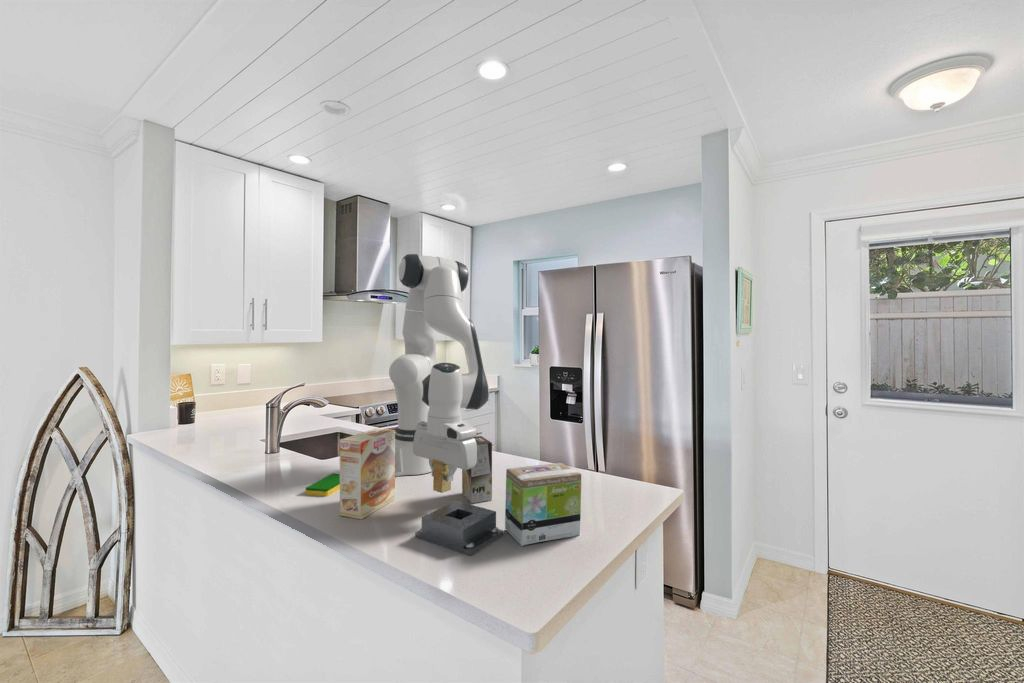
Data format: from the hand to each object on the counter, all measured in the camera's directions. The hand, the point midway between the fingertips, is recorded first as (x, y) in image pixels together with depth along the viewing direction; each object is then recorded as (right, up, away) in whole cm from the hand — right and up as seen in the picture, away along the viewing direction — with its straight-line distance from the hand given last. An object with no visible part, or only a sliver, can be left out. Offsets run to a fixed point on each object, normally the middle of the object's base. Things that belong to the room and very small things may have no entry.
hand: (442, 478), depth 123 cm
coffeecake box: (-20, -8, +2) cm, 22 cm away
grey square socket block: (+6, -9, -15) cm, 18 cm away
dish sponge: (-36, -8, +17) cm, 41 cm away
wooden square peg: (0, -3, 0) cm, 3 cm away
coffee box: (+8, -8, +10) cm, 15 cm away
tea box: (+25, -9, -13) cm, 30 cm away
